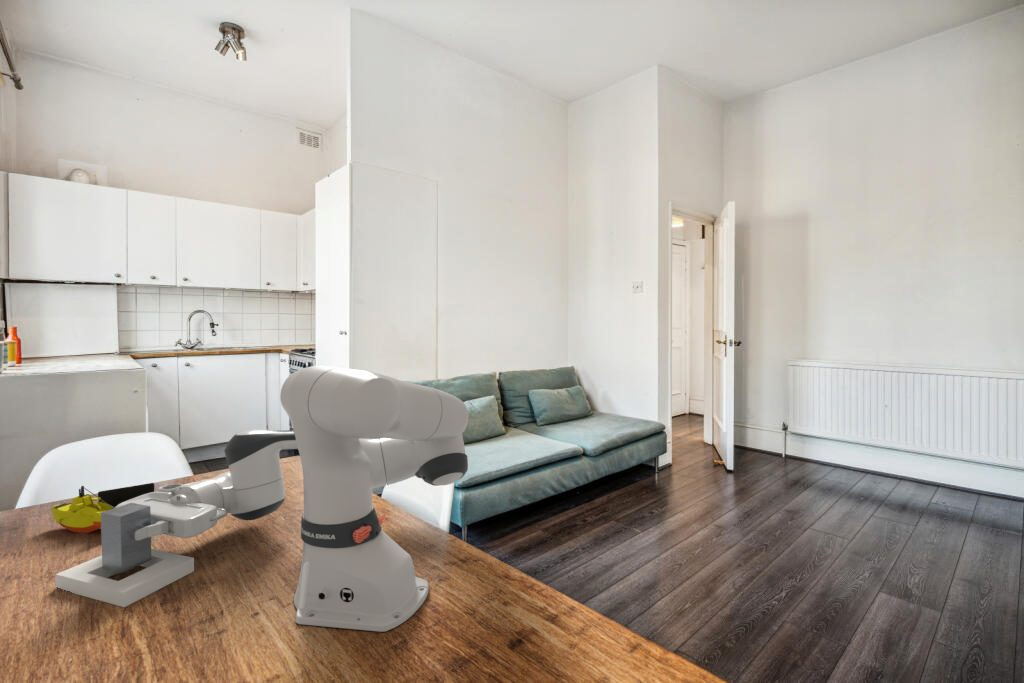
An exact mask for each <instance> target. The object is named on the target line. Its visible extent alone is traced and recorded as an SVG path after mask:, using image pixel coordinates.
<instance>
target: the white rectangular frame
mask: <svg viewBox="0 0 1024 683" xmlns="http://www.w3.org/2000/svg"><path fill="white" fill-rule="evenodd" d="M151 557H152V560H150V561H148V562H146V563H143V564H141V565H139V566H138V567H142V568H144V569H141V570H139V571H137V572H134V573H133V574H130V575H128V576H126V577H125V578H122V579H120V580H116V579H112V578H110V577H112V576H114V575H117V574H119V573H118V572H115V571H111V570H107V569H103V568H102V554H101V555H99V556H97V557H94V558H92V559H90V560H88V561H85V562H82V563H80V564H76V565H75V566H72V567H70V568H68V569H65V570H63V571H59V572H57V573H55V588H56V587H58V588H61V589H64V590H66V591H65V592H67V591H70V592H69V593H71V592H72V594H75V595H79V596H82V597H86V598H89V599H93V600H96V601H100V602H103V603H108V604H111V605H114V606H118V607H121V608H126V607H128V606H130V605H132V604H134V603H135V602H138V601H140V600H142V599H144V598H145V597H147V596H149V595H151V594H153V593H155V592H157V591H159V590H160V589H162V588H164V587H167V586H168V585H170V584H172V583H174V582H176V581H178V580H179V579H182V578H183V577H186V576H187V575H189V574H191V573H194V572H195V558H194V557H191V556H187V555H182V554H177V553H174V552H168V551H164V550H158V549H156V548H154V549H153V548H151ZM64 590H63V591H64Z"/></svg>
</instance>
